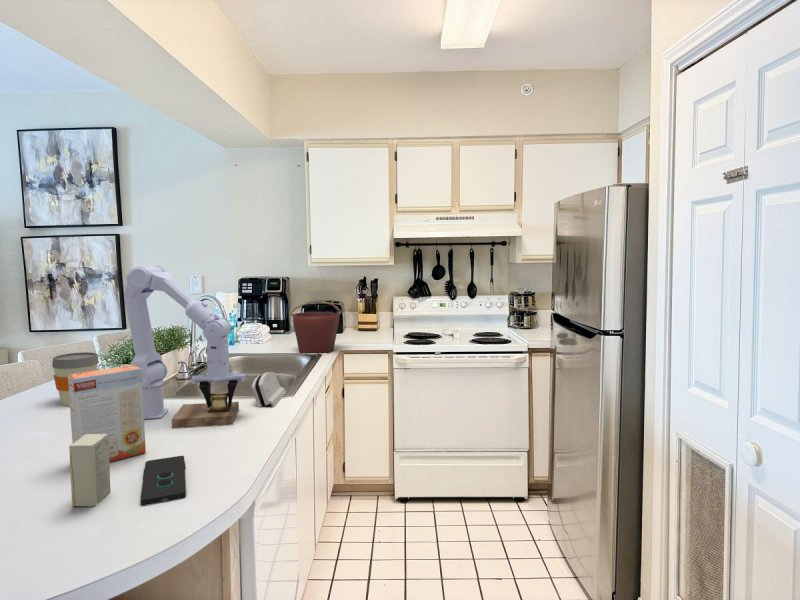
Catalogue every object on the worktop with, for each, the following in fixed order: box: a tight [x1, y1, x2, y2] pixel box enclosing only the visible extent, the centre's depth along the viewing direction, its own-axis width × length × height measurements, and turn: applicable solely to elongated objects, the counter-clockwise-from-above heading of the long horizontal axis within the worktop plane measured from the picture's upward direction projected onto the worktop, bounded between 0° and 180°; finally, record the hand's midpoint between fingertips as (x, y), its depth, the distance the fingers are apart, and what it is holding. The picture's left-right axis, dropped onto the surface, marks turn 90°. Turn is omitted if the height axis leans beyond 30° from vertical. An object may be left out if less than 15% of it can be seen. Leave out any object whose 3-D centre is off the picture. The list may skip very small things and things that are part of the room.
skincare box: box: [68, 434, 112, 507], centre depth 96 cm, size 6×4×12 cm
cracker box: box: [68, 364, 147, 463], centre depth 116 cm, size 14×6×21 cm, turn 134°
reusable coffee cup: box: [51, 351, 99, 407], centre depth 161 cm, size 13×12×15 cm
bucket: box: [290, 300, 343, 354], centre depth 246 cm, size 24×22×25 cm
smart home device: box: [139, 455, 187, 506], centre depth 105 cm, size 8×2×20 cm
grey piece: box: [251, 371, 287, 408], centre depth 164 cm, size 17×5×10 cm, turn 179°
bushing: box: [209, 390, 228, 413], centre depth 145 cm, size 5×5×6 cm
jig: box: [171, 401, 240, 429], centre depth 145 cm, size 16×14×2 cm
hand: (219, 406), depth 146 cm, fingers closed on bushing, 5 cm apart
